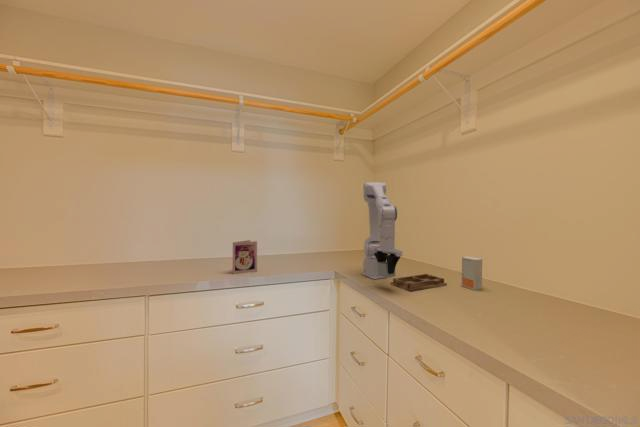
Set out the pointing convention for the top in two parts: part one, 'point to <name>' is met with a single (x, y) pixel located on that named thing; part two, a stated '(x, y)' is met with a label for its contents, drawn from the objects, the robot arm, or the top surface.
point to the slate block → (384, 270)
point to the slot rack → (418, 282)
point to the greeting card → (244, 257)
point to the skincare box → (472, 273)
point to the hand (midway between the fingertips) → (386, 272)
